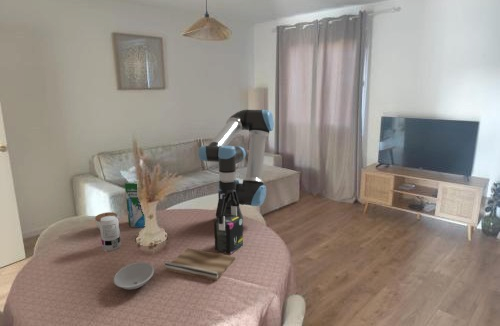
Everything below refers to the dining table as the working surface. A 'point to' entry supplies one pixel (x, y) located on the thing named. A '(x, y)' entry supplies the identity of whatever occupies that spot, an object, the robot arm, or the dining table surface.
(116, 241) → the supplement can
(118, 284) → the dish
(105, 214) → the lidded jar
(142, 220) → the milk carton
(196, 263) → the shelf board
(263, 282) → the dining table surface
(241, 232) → the tampon box
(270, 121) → the robot arm
